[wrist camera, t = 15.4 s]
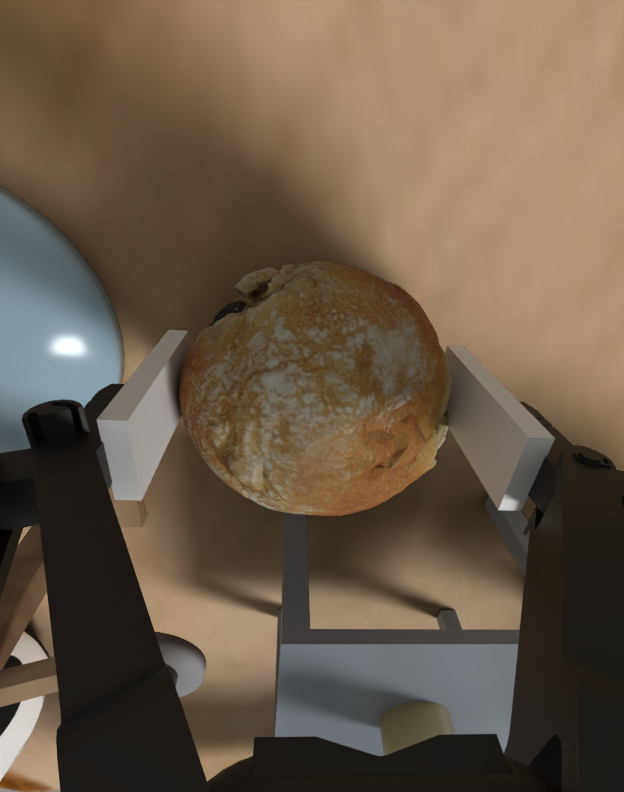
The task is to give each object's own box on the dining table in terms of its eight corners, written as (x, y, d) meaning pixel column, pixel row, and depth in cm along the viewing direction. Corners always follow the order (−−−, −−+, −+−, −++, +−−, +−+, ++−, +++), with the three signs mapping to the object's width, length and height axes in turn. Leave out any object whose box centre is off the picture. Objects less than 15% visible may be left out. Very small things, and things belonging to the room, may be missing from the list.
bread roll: (343, 222, 17) (282, 146, 10) (501, 397, 17) (565, 457, 9) (204, 370, 21) (77, 398, 13) (335, 520, 20) (282, 641, 13)
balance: (234, 468, 23) (174, 775, 11) (235, 520, 25) (187, 822, 14) (-99, 457, 22) (-540, 793, 10) (-66, 514, 24) (-397, 841, 12)
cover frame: (508, 491, 25) (818, 971, 10) (451, 618, 32) (584, 1007, 17) (285, 485, 24) (271, 1009, 9) (277, 617, 31) (263, 1031, 16)
